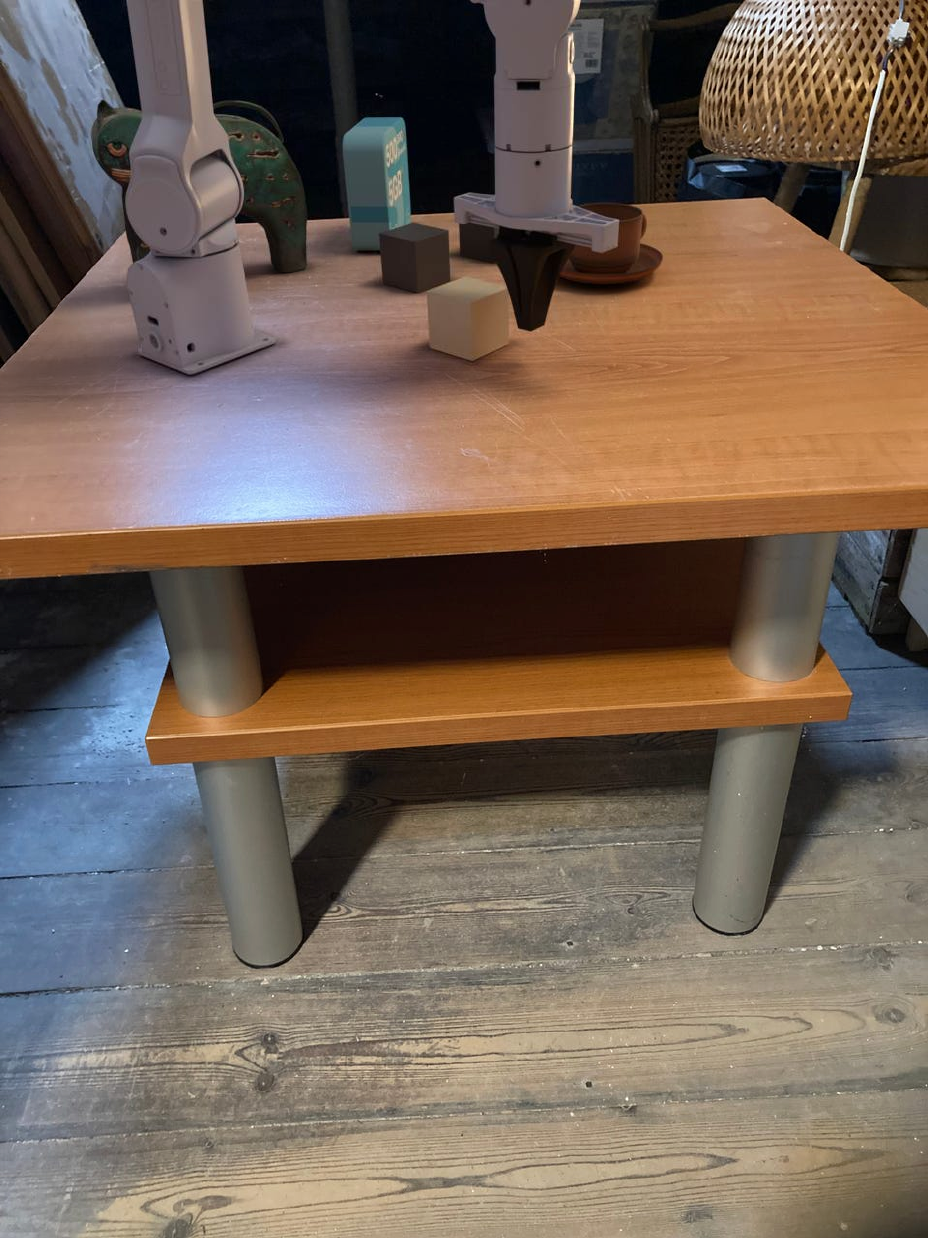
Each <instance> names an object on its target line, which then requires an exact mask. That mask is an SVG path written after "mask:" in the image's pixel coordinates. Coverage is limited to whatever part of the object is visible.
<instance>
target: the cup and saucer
mask: <svg viewBox="0 0 928 1238" xmlns="http://www.w3.org/2000/svg"><path fill="white" fill-rule="evenodd" d="M576 206H577V207H580V208H582V209H585V210H588V211H590V212H593V213H596V214H598V215H601V216H604V217H608V218H612V219H617V220H619V230H618V246H617V247H615V248H613V249H611V250H608V251H606V252H603V253H600V252H595V251H592V247H587V246H582V245H577V244H576V246H575V248H574V250H573V251H572V253H571V255H570V256H569V258H568V260H567V262H566V264H565V266H564V268H563V270H562V272H561V274H560V276H559V277H560V278H563V279H566V280H569V281H572V282H576V283H584V284H591V285H616V284H625V283H630V282H634V281H638V280H641V279H643V278H646V277H648V276H650V275H651V274H653V273H655V271H657V269H659V268H660V267H661V265H662V262H663V259H664V255H663V254H662V252H661V251H660V250H659V249H657V248H655V247H653V246H651V245H648V244H645V243H641V240H642V238H643V237H644V236H645V234H646V230H647V226H648V220H647V217H646V215H645V214H644V212H643V210H642V209H641V208H639V207H637V206H634V205H630V204H626V203H621V202H620V203H618V202H593V203H586V204H580V205H576Z"/></svg>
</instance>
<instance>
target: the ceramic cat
mask: <svg viewBox="0 0 928 1238" xmlns="http://www.w3.org/2000/svg"><path fill="white" fill-rule="evenodd" d="M225 106H235V107H242V108H249V109H253V110H256V111H258V112H260V113H261V114H262V115H263V116H265V117H266V118H267V119H268V120H269V121H270V122H271V124H272V125H273V126H274V128H275V130H276V133H277V135H278V136H276V135H275V134H274V133H273V131H272V132H271V130H269V129H267V128H266V127H265V126H263V125H261V124H260V123H258V122H255V121H252V120H249V119H247V118H245V117H243V116H242V117H241V116H238V115H230V114H220V113H218V114H217V113H214V115H215V117H216V119H217V120H218V121H219V123H220V124H221V126H222V127H223V128H224V130H225V131H226V133H227V135H228V138H229V148H230V154H231V157H232V160H233V162H234V164H235V166H236V168H237V170H238V172H239V174H240V176H241V179H242V183H243V187H244V200H243V205H242V207H241V210H240V212H239V213H238V215H242V216H245V217H248V218H249V219H252V220H253V221H254V222H256V223H258V225H259V226H260V227H261V228H262V229H263V231H264V233H265V238H266V239H267V245H268V250H269V256H270V263H271V266H272V267H273V269H276V270H277V271H278V272H279V273H294V272H299V271H302V270H305V269H306V268H307V266H308V261H307V260H308V258H307V256H308V255H307V253H308V252H307V238H308V237H307V233H308V232H307V229H308V228H307V226H308V208H307V203H306V195H305V190H304V184H303V181H302V178H301V175H300V173H299V170H298V168H297V166H296V165H295V163H294V161H293V159H292V158H291V156H290V154H289V153H288V150H287V149H286V147H285V146H284V144H283V143H284V142H285V140H284V136H283V134H282V131H281V128H280V127H279V125H278V122H277V121H276V119H275V118H274V116H273V115H272V114H271V113H270V112H269V111H268V110H267V109H265V108H264V107H263V106H261V105H259V104H256V103H252V102H249V101H243V100H222V101H217V102H216V103H213V110H215V109H217V108H220V107H225ZM141 120H142V110H139V109H136V108H132V107H131V108H130V107H122V106H117V107H113V106H112V105H111V104H110V103H109V102H107V101H106V100H105V99H103V98H102V99H101V100H100V101H99V103H98V104H97V109H96V118H95V119H94V121H93V123H92V125H91V130H90V131H91V132H90V138H91V148H92V152H93V156H94V158H95V160H96V162H97V164H98V166H99V167H100V169H101V170H102V171H103V172H104V173H105V174H106V176H108V177H109V179H111V180H112V181H114V182H115V183H116V184H118V185H119V186H120V187H121V203H122V204H121V205H122V212H123V219H124V230H125V235H126V240H127V243H128V245H129V251H130V256H131V260H132V264H133V263H134V262H136V261H139V260H141V259H143V258H144V257H146V256H147V255H148V254H149V252H150V247H149V245H147V244H146V243H145V242H144V241H143V240H142V239H141V238H140V237H139V236H138V235H137V233H136V232H135V231H134V229H133V227H132V226H131V223H130V221H129V219H128V215H127V212H126V206H125V198H126V192H127V189H128V186H129V183H130V178H131V164H130V158H129V151H130V148H131V145H132V143H133V140H134V138H135V135H136V133H137V131H138V128H139V126H140V123H141Z"/></svg>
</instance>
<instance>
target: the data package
mask: <svg viewBox="0 0 928 1238" xmlns="http://www.w3.org/2000/svg"><path fill="white" fill-rule="evenodd" d="M407 145H408V143H407V129H406V122H405V120H404V118H403V117H401V116H399V117H397V116H396V117H390V116H389V117H364V118H363V119H361V120H360V121H359V122H357V124H355V125H354V126H353V127H352V128H350V130H348V131H347V132H345V134H344V135H343V139H342V158H343V159H342V160H343V167H344V178H345V188H346V199H347V210H348V220H349V229H350V239H351V245H352V247H353V249H354V250H355V251H357V252H358V251H361V252H362V251H363V252H364V251H365V252H367V251H369V252H380V243H379V233H382V232H385V231H388V230H391V229H394V228H398V227H401V226H404V225H407V224H410V223H411V217H412V211H411V197H410V196H411V195H410V179H409V162H408V146H407Z"/></svg>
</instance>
